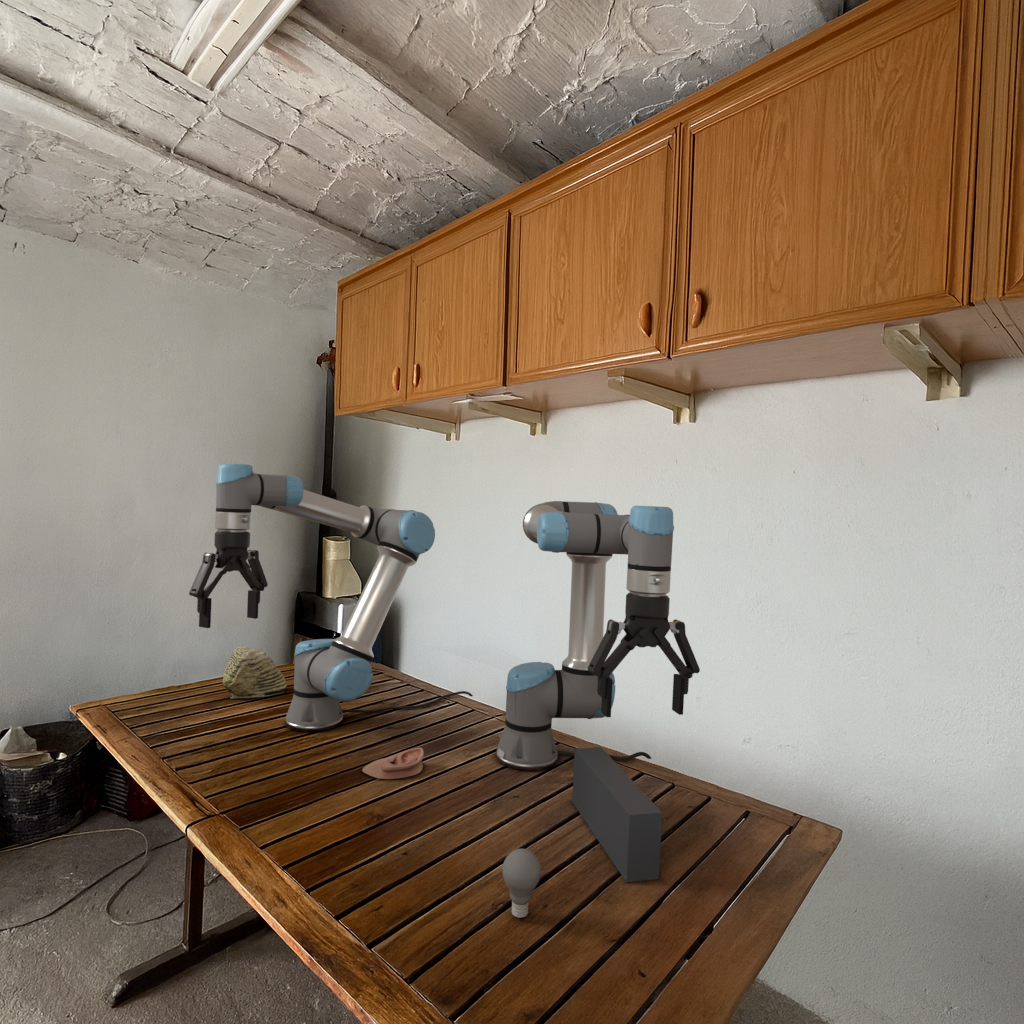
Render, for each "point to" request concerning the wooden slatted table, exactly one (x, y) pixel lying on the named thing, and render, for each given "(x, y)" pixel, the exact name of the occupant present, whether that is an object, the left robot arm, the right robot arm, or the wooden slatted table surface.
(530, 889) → the light bulb
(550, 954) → the wooden slatted table surface
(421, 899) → the wooden slatted table surface
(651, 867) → the box
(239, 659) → the fossil
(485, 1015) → the wooden slatted table surface
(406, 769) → the anatomical model
